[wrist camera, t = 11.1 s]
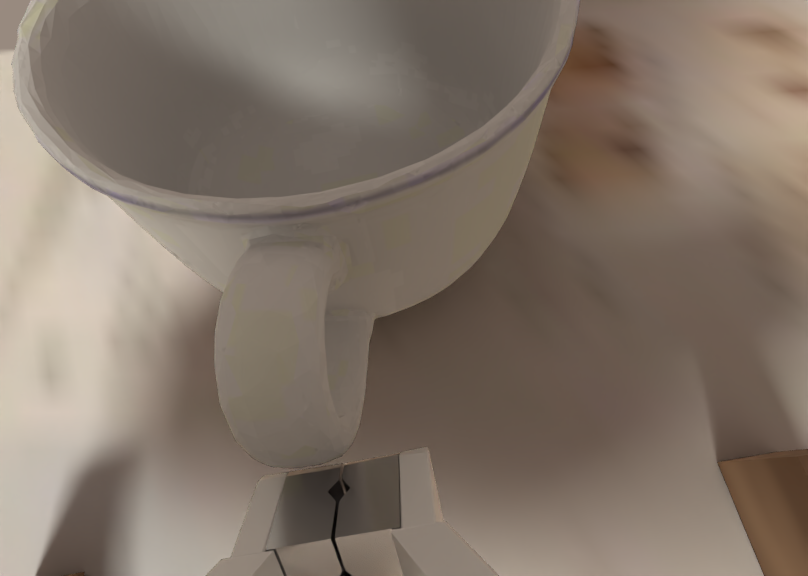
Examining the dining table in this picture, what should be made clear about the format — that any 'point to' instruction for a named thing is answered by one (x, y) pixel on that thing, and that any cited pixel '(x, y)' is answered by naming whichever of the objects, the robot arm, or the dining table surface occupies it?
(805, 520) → the wooden l-brackets
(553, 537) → the dining table surface
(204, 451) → the dining table surface
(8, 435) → the dining table surface
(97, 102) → the teacup
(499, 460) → the dining table surface
